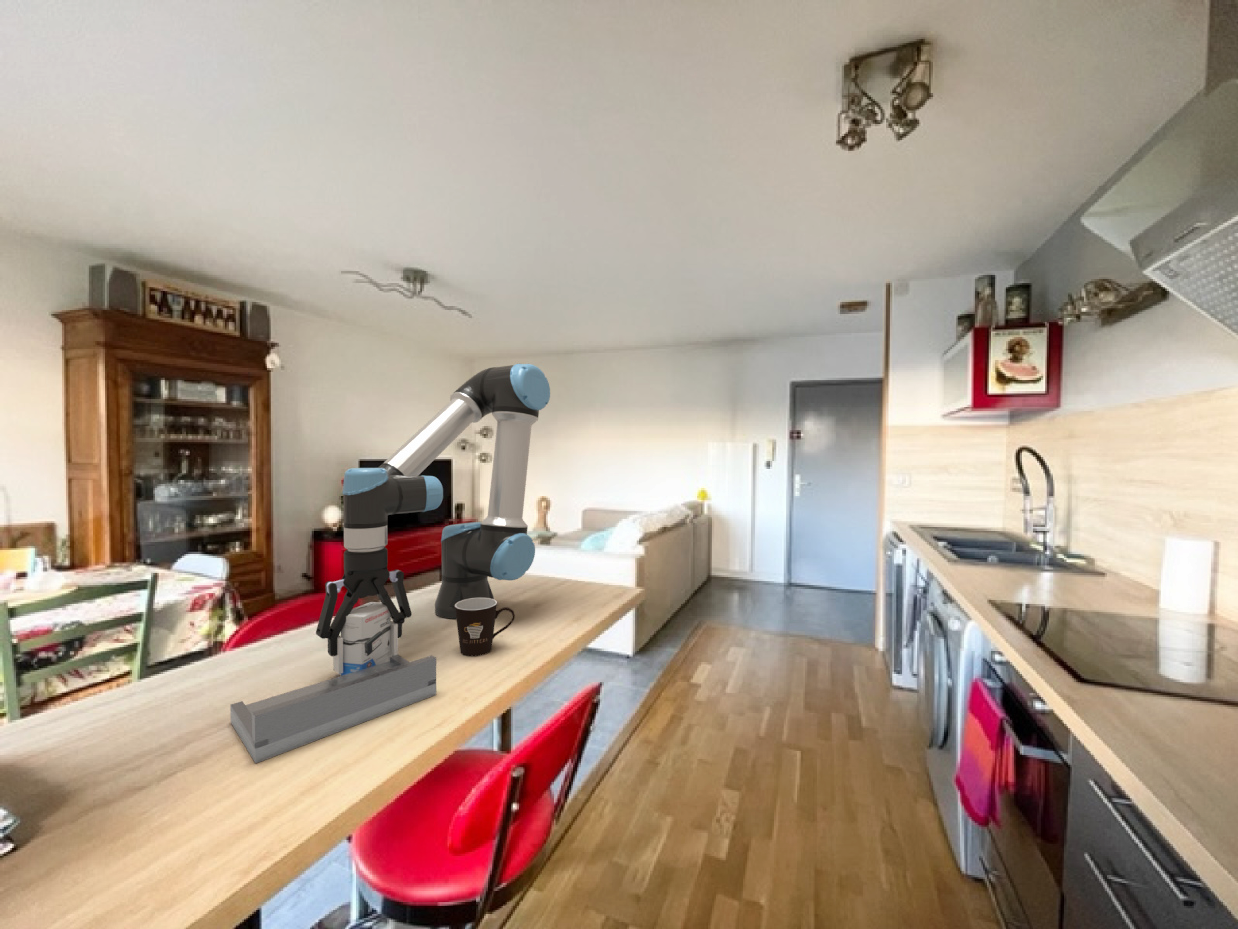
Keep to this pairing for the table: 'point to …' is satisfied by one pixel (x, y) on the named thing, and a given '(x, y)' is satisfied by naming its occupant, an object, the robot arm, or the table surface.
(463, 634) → the coffee mug
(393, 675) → the gray tray
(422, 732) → the table surface
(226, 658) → the table surface
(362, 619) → the ink box
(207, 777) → the table surface
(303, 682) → the table surface
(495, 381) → the robot arm
